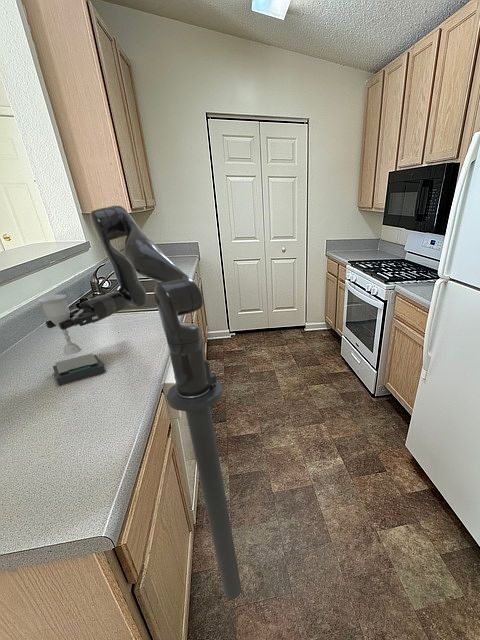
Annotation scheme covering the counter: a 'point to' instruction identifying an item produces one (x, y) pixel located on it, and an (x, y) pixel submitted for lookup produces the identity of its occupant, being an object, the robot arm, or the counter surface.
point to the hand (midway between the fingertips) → (54, 325)
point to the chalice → (59, 318)
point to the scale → (79, 373)
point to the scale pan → (76, 363)
